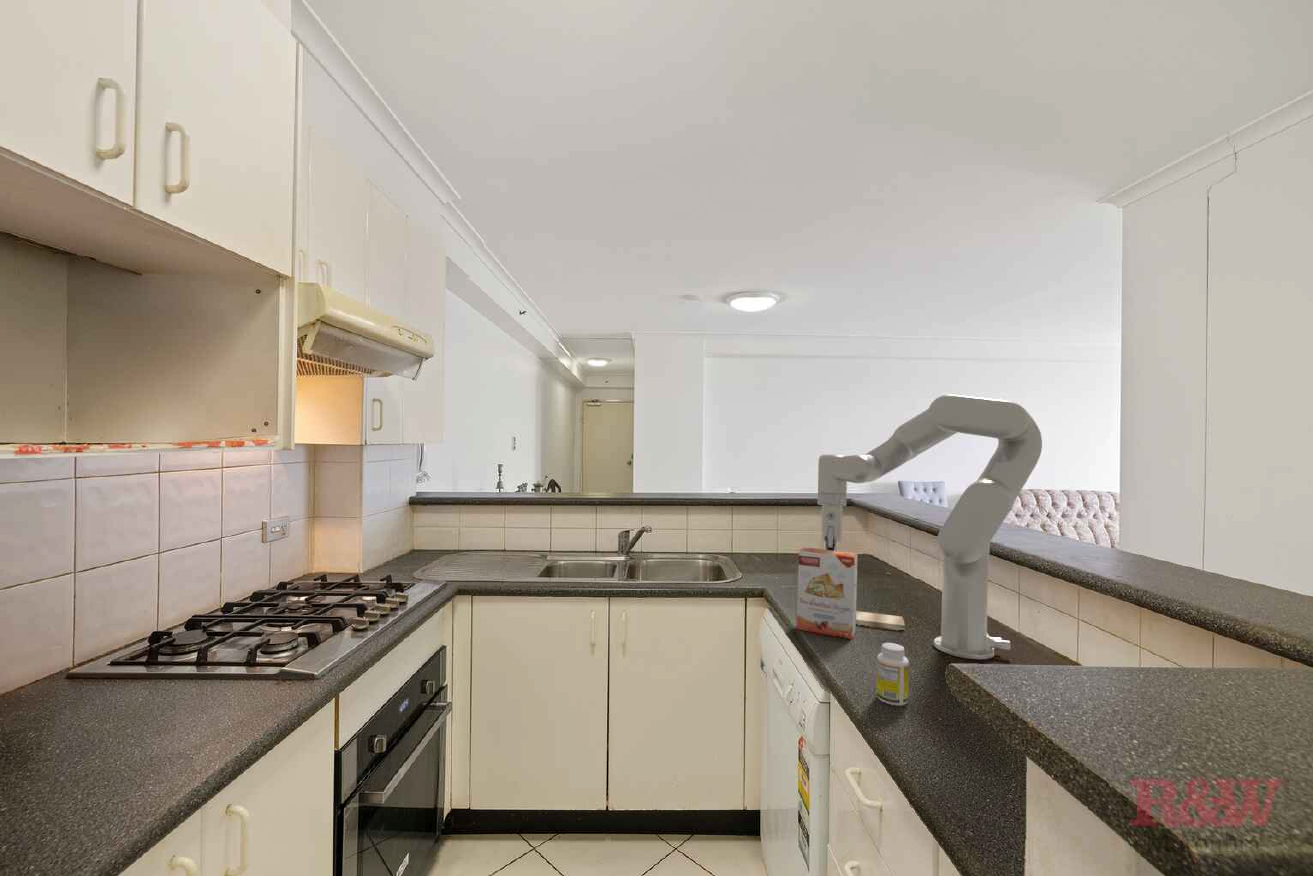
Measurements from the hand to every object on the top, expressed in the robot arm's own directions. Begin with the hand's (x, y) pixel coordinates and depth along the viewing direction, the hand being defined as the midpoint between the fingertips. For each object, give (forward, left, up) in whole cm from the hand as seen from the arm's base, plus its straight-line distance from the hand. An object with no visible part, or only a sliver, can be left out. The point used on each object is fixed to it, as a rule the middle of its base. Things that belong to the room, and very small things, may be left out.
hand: (830, 566), depth 151 cm
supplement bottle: (-13, +44, -15) cm, 49 cm away
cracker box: (+1, +9, -15) cm, 18 cm away
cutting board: (-13, -4, -15) cm, 20 cm away
